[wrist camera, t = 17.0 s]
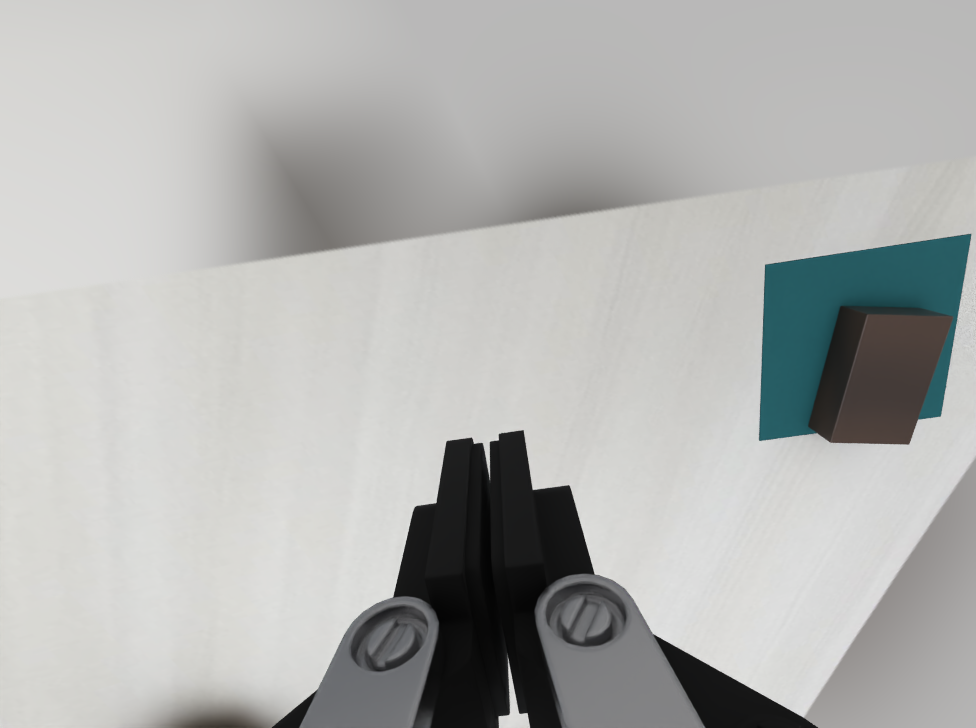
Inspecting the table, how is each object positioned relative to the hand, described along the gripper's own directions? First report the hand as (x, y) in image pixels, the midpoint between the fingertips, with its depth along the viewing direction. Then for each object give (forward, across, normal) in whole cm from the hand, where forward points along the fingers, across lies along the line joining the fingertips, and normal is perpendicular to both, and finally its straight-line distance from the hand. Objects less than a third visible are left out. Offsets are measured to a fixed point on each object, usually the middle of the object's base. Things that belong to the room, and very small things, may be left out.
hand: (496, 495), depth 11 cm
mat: (+23, -24, +8) cm, 35 cm away
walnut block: (+23, -25, +10) cm, 35 cm away
